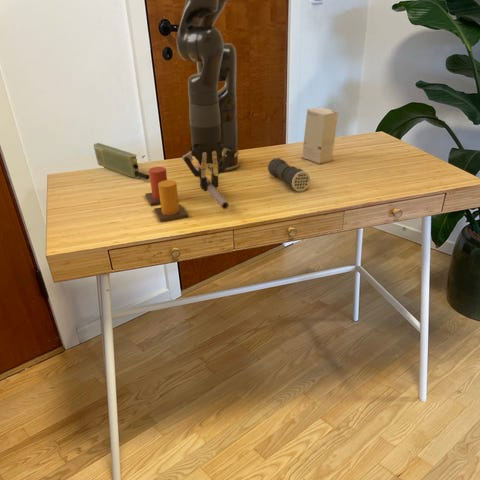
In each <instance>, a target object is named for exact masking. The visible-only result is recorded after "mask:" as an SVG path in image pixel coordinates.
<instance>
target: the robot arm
mask: <svg viewBox="0 0 480 480" xmlns="http://www.w3.org/2000/svg"><path fill="white" fill-rule="evenodd" d="M227 1H228V0H185V3H184V6H183V10H182V13H181V18H180V21H179V26H178V29H177V33H176V47H177V48H176V49H177V52H178V54H179V57H180V58H181V59H182V60H183V61H185V62H189V63H196V69H197V73H193V74H191V75H190V76H189V77H188V78H187V79H188V80H187V91H188V92H187V93H188V101H189V102H188V104H189V108H188V115H189V128H190V137H191V138H190V140H191V146H190V149H189V151H188V152H187V153H186V154H182V155H181V158H182V160H183V161H184V163H185V164H186V166H187V167H188V169H189V170H190V172H191V173H192V174H193V176H194V177H195V178H198V177H200V179H199V186H200V188H201V189H202V190H203V191H204V192H207V191H208V190H207V178H208V177H207V176H206V175H207V174H206V173H207V167H208V169H210V171H211V173H210V180H211V181H210V182H211V183H212V184H213V185H214V187H215V188H216V189H217V188H219V175H221V174H224V173H225V172H229V171H233V170H235V169H237V168H239V155H240V151H239V147H238V146H239V145H238V143H239V142H238V109H237V108H238V106H237V105H238V104H237V52H236V48H235V46H234V44H233V43H230V42H227V43H226V42H225V43H224V38H223V35H222V33H221V31H220V30H219V29H218V28H217V27H215V26H214V25H215V24H216V22H217V20H218V18H219V16H220V14H221V13H222V12H223V10H224V8H225V5H226V3H227ZM223 82H224V85H223V86H222V88H220V89H219V83H223ZM193 158H195V160H196V161H197V167H199V170H196V169H195V165H194V164H193V163H192V162H193V161H194V159H193ZM207 165H208V166H207ZM205 176H206V177H207V178H206V177H205ZM217 190H218V189H217Z"/></svg>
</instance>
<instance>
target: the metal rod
mask: <svg viewBox="0 0 480 480" xmlns="http://www.w3.org/2000/svg"><path fill="white" fill-rule="evenodd" d="M194 167H195V169H196V170H199V166H198V165H194ZM205 177H206V178H207V191H208V192H209V193H210V195H211V196H212V197H213V198H214V200H215V201H216V203H217V204H218V205H219V206H220V208H221V209H222V210H228V209H229V207H230V204H229V202H228V201H227V200H226V198H225V197H224V196H223V195H222V194H221V193H220V192H219V190H218V189H216V188H215V187H214V185H213V184H212V182H211V181H210V179H209V178H208V177H207V176H205ZM197 178H198V180H200V177H197Z"/></svg>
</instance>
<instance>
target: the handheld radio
mask: <svg viewBox="0 0 480 480" xmlns="http://www.w3.org/2000/svg"><path fill="white" fill-rule="evenodd" d="M93 149H94V154H95V158H96V162H97V165H98V166H100V167H103V168H106V169H109V170H112V171H114V172H117V173H119V174H122V175H125V176H128V177H130V178H134V179H141V178H142V179H144V180H150V176H149V174H147V173H144V172H140V170H139V165H138V159H137V156H138V155H137V154H135V153H132V152H129V151H126V150H123V149H119V148H116V147H113V146H110V145H106V144H103V143H100V142H96V143H94V144H93Z"/></svg>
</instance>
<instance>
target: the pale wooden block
mask: <svg viewBox="0 0 480 480" xmlns="http://www.w3.org/2000/svg"><path fill="white" fill-rule="evenodd" d="M338 117H339V112H338V111H335V110H332V109H329V108H326V107H322V106H317V107H311V108H307V109H306V117H305V127H304V136H303V137H304V138H303V144H302V145H303V146H302V154H301V157H302V159H305V160H308V161H311V162H314V163H316V164H319V165H320V164H324V163H327V162H331V161H332V160H333V153H334V145H335V140H336V139H335V138H336V131H337V124H338Z"/></svg>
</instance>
